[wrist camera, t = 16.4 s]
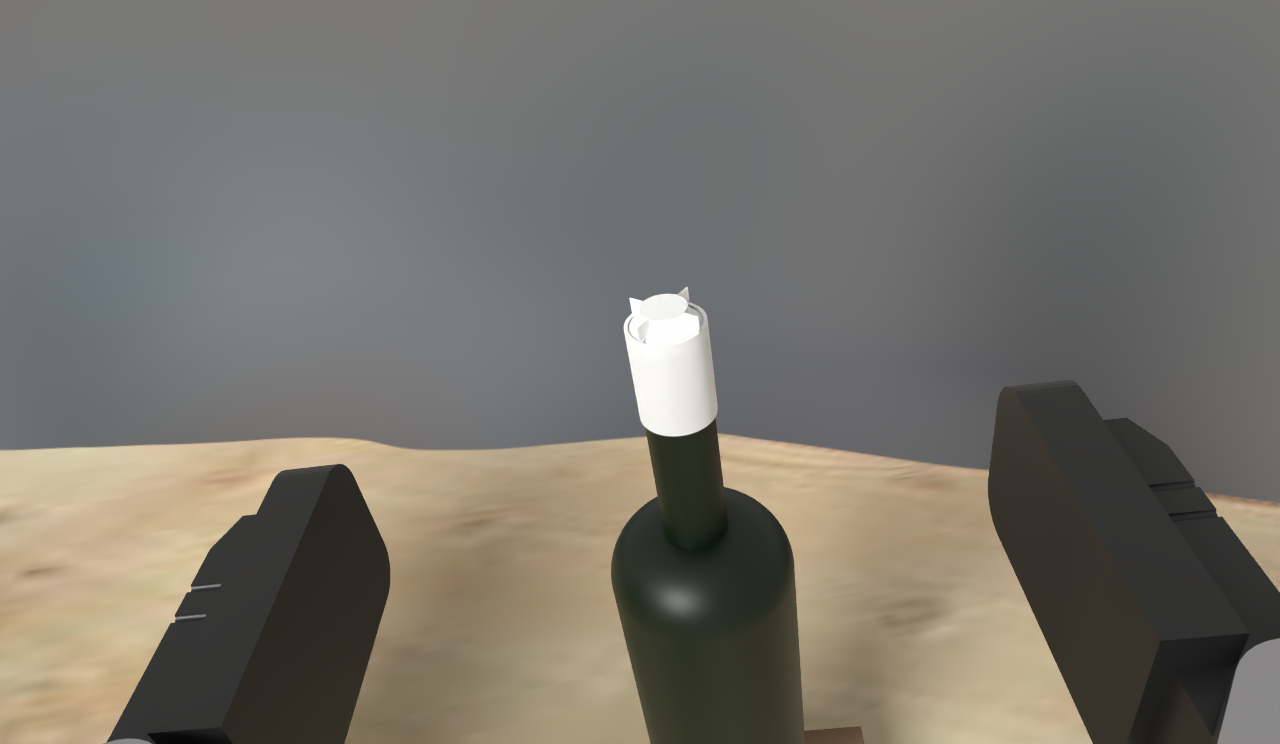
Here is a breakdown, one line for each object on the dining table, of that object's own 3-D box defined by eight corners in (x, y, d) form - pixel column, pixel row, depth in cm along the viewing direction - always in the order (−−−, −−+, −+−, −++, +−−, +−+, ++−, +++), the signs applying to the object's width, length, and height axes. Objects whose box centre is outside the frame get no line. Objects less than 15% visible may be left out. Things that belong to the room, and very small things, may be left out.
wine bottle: (835, 852, 39) (820, 276, 22) (770, 972, 36) (691, 401, 18) (728, 784, 42) (641, 237, 25) (659, 889, 39) (503, 337, 22)
